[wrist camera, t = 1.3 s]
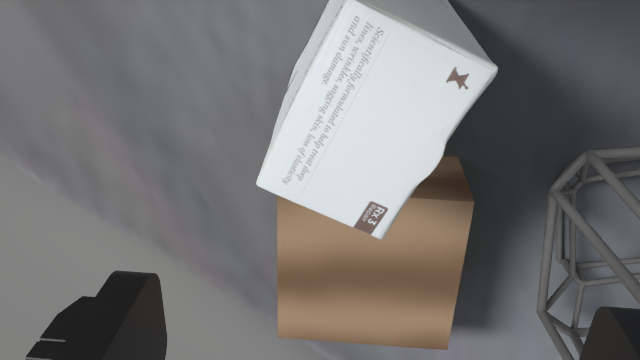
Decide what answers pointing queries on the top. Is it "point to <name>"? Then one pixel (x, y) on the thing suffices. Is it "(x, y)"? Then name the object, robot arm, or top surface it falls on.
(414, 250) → the light brown block
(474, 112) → the top surface
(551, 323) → the geometric lantern
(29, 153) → the top surface
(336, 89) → the skincare box
